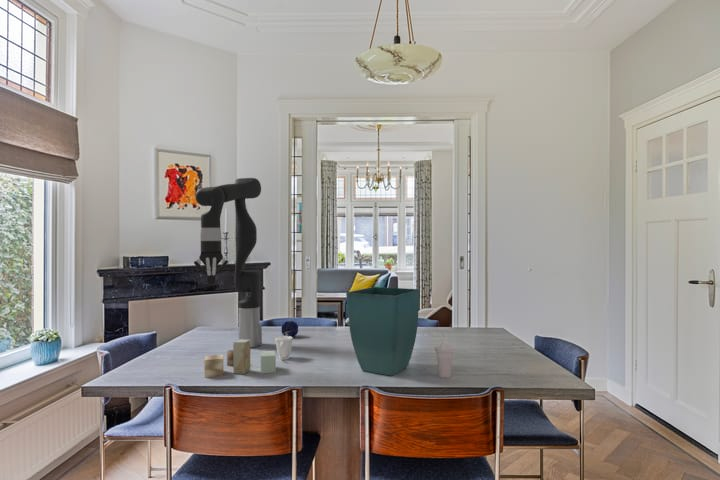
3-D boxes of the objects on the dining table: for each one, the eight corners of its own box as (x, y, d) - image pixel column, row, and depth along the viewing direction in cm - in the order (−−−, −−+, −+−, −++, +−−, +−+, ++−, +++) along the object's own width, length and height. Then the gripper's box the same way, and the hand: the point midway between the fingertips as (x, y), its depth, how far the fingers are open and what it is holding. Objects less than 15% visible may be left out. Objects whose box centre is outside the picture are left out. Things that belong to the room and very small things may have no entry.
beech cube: (223, 371, 155) (223, 354, 155) (223, 375, 150) (222, 358, 150) (205, 372, 154) (205, 355, 154) (204, 377, 148) (204, 360, 148)
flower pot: (396, 381, 141) (395, 295, 141) (345, 372, 151) (344, 292, 151) (421, 366, 158) (420, 289, 158) (374, 359, 168) (373, 286, 168)
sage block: (274, 367, 160) (274, 350, 160) (275, 372, 153) (275, 355, 153) (260, 368, 158) (260, 351, 158) (261, 373, 152) (261, 356, 152)
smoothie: (433, 373, 149) (432, 332, 149) (451, 372, 150) (450, 332, 150) (438, 379, 143) (437, 336, 143) (456, 378, 143) (456, 336, 143)
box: (244, 374, 151) (243, 342, 151) (232, 373, 152) (232, 342, 152) (251, 369, 156) (250, 339, 156) (240, 369, 157) (239, 338, 157)
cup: (294, 355, 175) (294, 335, 175) (289, 362, 165) (289, 341, 165) (277, 355, 175) (277, 335, 175) (271, 362, 165) (271, 341, 165)
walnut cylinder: (236, 361, 167) (236, 348, 167) (243, 364, 164) (243, 351, 164) (224, 364, 164) (224, 351, 164) (231, 367, 160) (231, 353, 160)
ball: (296, 338, 206) (296, 322, 206) (280, 339, 207) (280, 323, 207) (299, 335, 214) (298, 319, 214) (283, 335, 215) (283, 320, 215)
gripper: (191, 240, 159) (192, 287, 159) (229, 239, 163) (229, 285, 163) (193, 240, 166) (194, 284, 167) (229, 239, 170) (229, 283, 170)
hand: (211, 285), depth 165 cm, fingers closed
